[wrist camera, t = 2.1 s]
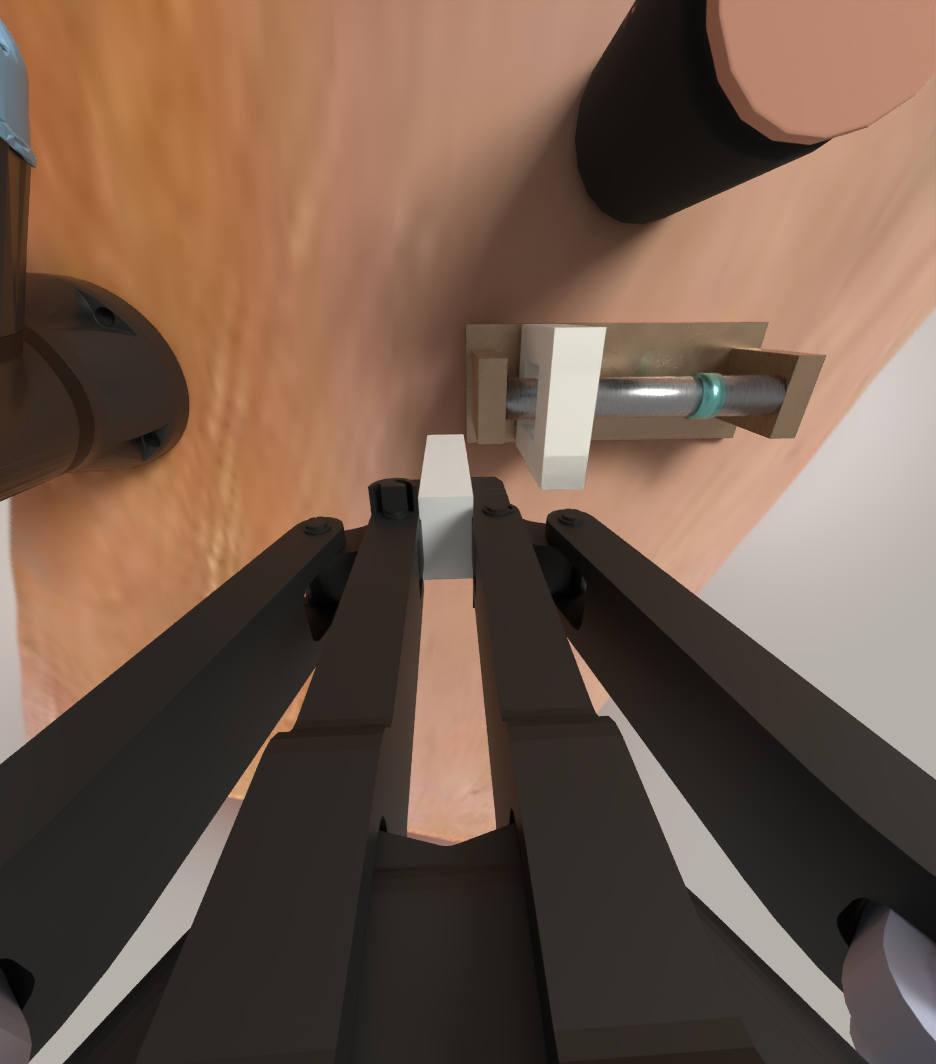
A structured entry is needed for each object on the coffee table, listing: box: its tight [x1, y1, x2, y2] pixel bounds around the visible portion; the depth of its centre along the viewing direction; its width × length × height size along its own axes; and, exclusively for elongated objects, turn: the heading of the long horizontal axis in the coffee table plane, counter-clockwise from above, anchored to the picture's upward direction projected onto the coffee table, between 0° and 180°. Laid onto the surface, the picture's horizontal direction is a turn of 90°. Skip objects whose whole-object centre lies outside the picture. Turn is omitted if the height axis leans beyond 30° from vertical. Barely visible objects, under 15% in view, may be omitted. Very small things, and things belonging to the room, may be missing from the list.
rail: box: [466, 322, 826, 444], centre depth 33 cm, size 26×10×9 cm, turn 90°
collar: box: [516, 324, 606, 490], centre depth 30 cm, size 3×10×11 cm, turn 0°
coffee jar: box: [575, 0, 936, 224], centre depth 21 cm, size 11×11×18 cm
